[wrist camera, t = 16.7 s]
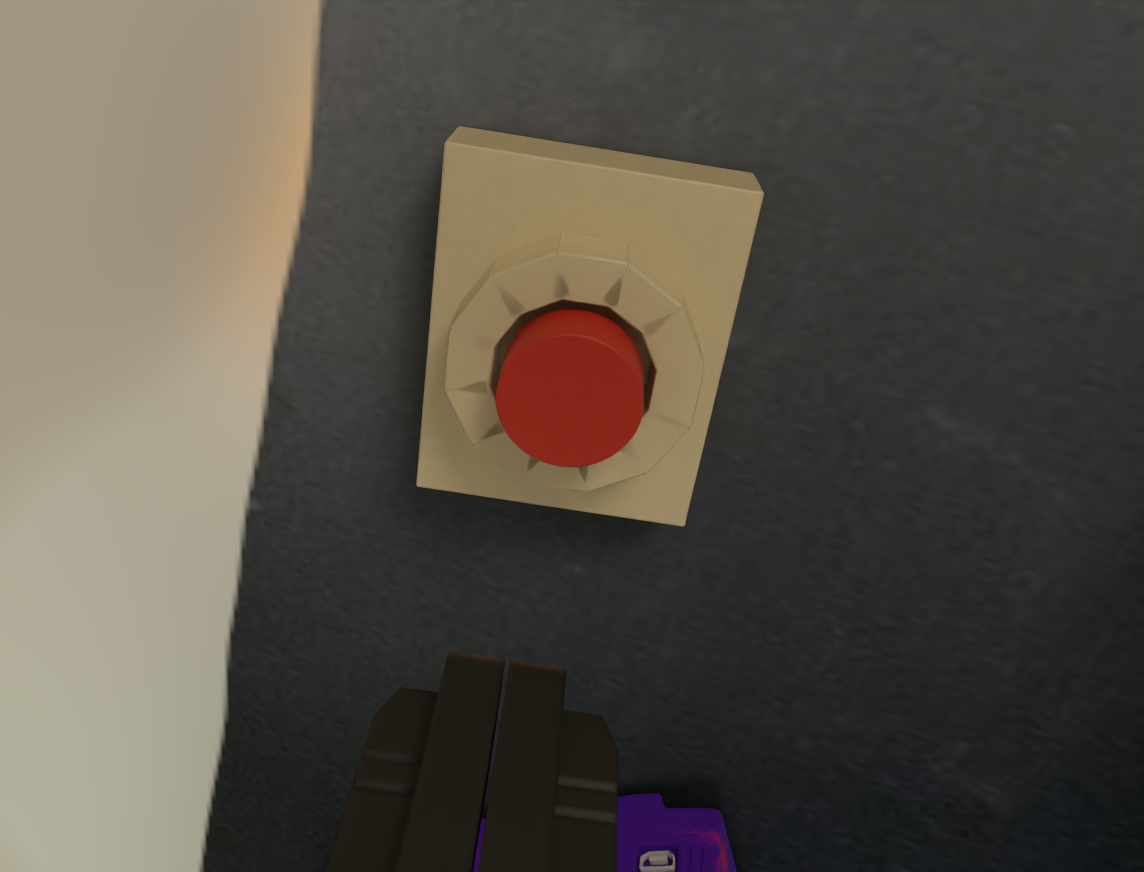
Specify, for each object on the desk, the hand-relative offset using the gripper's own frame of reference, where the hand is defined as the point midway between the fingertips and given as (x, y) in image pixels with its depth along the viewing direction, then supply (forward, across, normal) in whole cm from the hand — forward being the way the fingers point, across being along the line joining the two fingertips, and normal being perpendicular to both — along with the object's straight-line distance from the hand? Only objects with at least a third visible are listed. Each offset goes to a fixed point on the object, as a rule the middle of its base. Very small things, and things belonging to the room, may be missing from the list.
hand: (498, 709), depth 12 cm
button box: (+17, 0, +1) cm, 17 cm away
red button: (+13, 0, +1) cm, 14 cm away
